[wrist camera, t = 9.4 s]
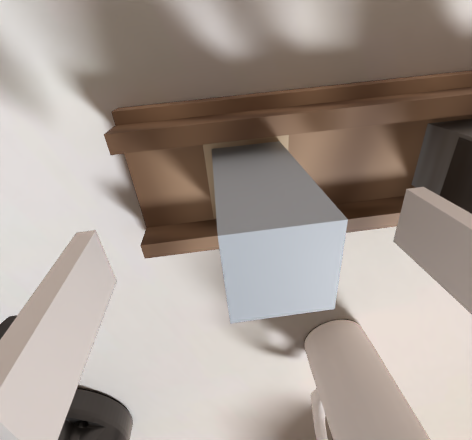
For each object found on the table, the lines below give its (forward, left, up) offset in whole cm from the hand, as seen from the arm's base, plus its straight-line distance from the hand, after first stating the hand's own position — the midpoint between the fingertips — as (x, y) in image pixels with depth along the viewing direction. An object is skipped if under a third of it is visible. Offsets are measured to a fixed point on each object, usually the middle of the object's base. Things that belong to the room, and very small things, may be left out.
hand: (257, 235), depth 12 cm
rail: (+6, 0, -7) cm, 10 cm away
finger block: (0, 0, -6) cm, 6 cm away
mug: (+7, -21, -8) cm, 23 cm away
